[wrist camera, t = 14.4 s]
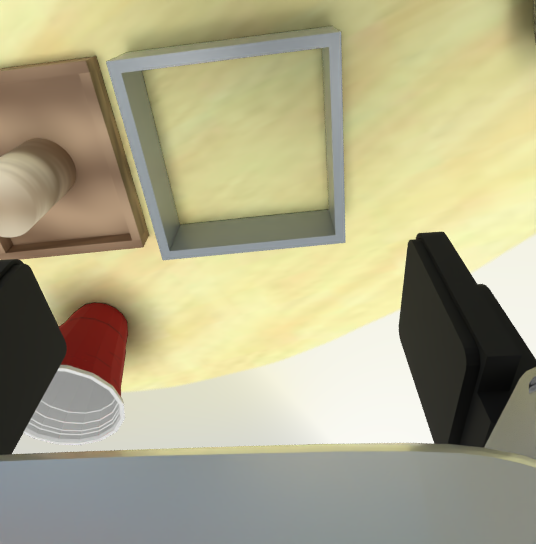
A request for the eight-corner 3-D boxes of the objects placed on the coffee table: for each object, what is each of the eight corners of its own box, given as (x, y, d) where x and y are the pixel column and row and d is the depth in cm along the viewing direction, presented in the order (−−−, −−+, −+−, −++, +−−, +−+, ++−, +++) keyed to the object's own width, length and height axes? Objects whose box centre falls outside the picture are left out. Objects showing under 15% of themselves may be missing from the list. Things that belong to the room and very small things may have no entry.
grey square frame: (126, 52, 33) (105, 61, 29) (332, 25, 32) (341, 31, 28) (173, 232, 42) (162, 260, 38) (337, 216, 41) (345, 242, 37)
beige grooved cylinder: (5, 142, 36) (-54, 176, 30) (63, 134, 36) (16, 167, 29) (30, 197, 39) (-20, 240, 32) (84, 191, 39) (45, 233, 32)
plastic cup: (120, 373, 52) (84, 466, 42) (35, 327, 48) (-27, 416, 38) (172, 320, 48) (146, 409, 38) (83, 264, 44) (28, 347, 34)
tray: (-72, 77, 34) (-92, 83, 33) (96, 56, 34) (85, 60, 32) (13, 248, 43) (1, 261, 41) (148, 235, 42) (143, 247, 40)
